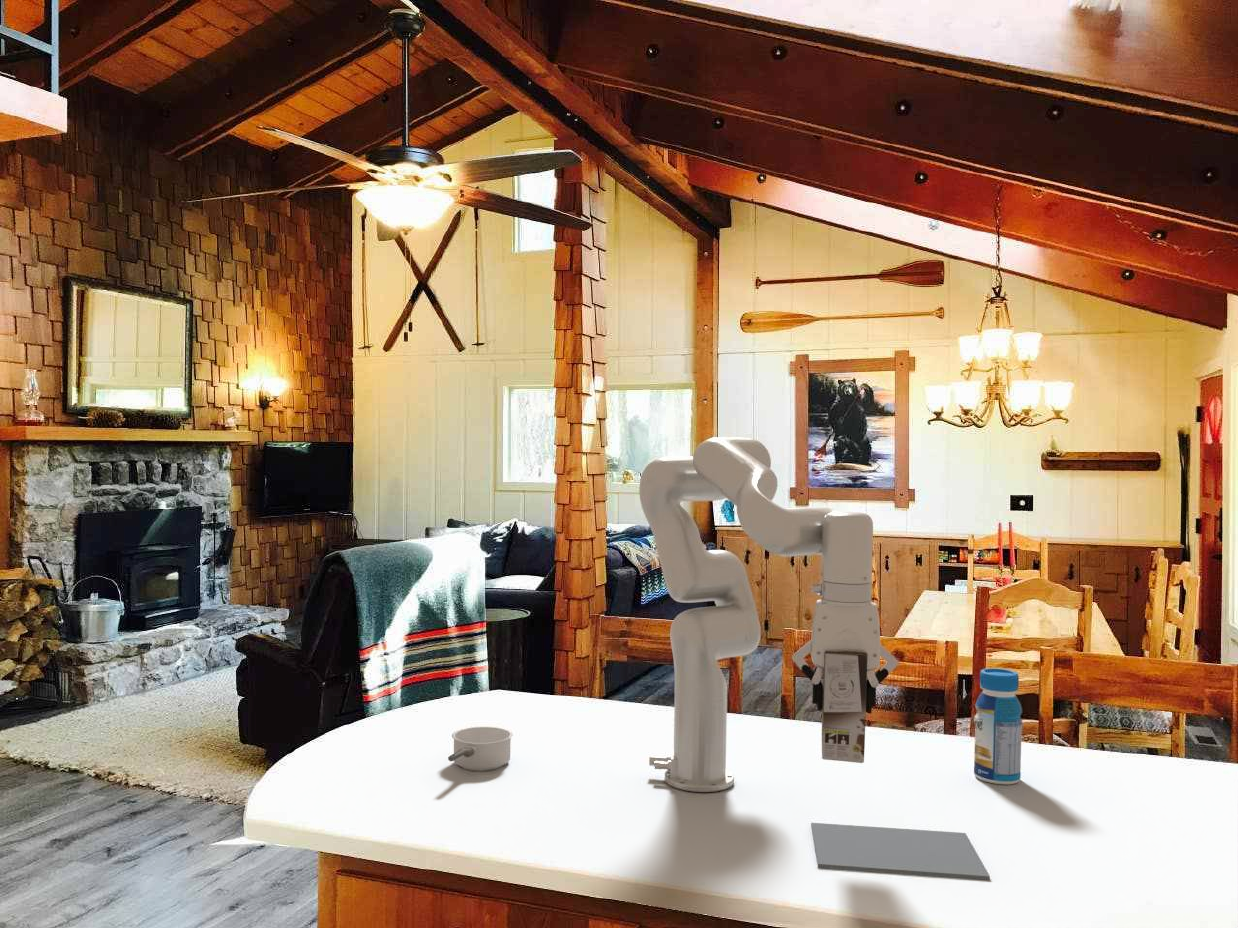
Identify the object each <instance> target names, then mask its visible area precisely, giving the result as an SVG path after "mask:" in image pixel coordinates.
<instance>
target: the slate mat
mask: <svg viewBox="0 0 1238 928" xmlns="http://www.w3.org/2000/svg"><path fill="white" fill-rule="evenodd" d="M810 826H811V828H810V829H811V833H812V834H811V835H812V840H813V846H814V850H815V851H814V852H815V856H816V864H817V868H820V869H821V868H823V869H834V870H848V871H849V870H851V871H861V872H862V871H864V872H877V873H878V872H879V873H892V874H902V875H903V874H906V875H915V876H916V875H918V876H933V877H944V878H945V877H946V878H958V879H970V880H971V879H973V880H988V881H990V880H991V875H990V873H989V872H988V870H987V869H986V867H985V865H984V863H983V861H982V860H981V858H980V856H979V855H978V853H977V851H976V849H975V847H974V846H973V844H972V842H971V839H969V837H968V835H967V833H966V832H959V831H958V832H955V831H945V830H944V831H941V830H929V829H927V830H924V829H909V828H897V827H882V826H881V827H880V826H869V825H867V826H866V825H852V824H838V823H837V824H835V823H822V822H821V823H820V822H819V823H818V822H811V823H810Z"/></svg>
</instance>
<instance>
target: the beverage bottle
mask: <svg viewBox="0 0 1238 928" xmlns="http://www.w3.org/2000/svg"><path fill="white" fill-rule="evenodd" d="M1019 679H1020V677H1019V673H1017V672H1016V671H1013V670H1010V669H1007V668H1006V669H1004V668H998V667H997V668H996V667H995V668H994V667H993V668H989V667H988V668H982V669H981V670H980V672H979V686H980V689H982V691H981V692H980V694H979V696H978V697H977V699H976V702H975V704H974V706H975V710H976V714H975V715H974V718H973V722H974V761H973V762H974V763H973V764H974V765H973V773H974V776H975V777H976V778H977V779H979V780H980V781H983V782H986V783H990V784H993V785H1015V784H1018V783H1019V782H1020V781H1021V778H1022V777H1021V776H1022V775H1021V774H1022V773H1021V760H1022V733H1023V732H1022V731H1023V727H1024V726H1023V721H1022V718H1021V715H1022V714H1023V708H1022V704H1021V702H1020V700H1019V699H1018V696H1017V695H1016V693H1017V692H1018V690H1019V683H1020V680H1019Z"/></svg>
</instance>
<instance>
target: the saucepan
mask: <svg viewBox="0 0 1238 928" xmlns="http://www.w3.org/2000/svg"><path fill="white" fill-rule="evenodd" d="M512 737H513V732H512V731H511V730H509V729H506V728H503V727H498V726H488V725H487V726H483V725H482V726H480V725H479V726H470V727H465V728H461V729H458V730H456V731H454V732H453V733H452V735H451V738H452V739H453V753H452V754H451V755H449V756H448V757H447V760H448V761H449V762H453V763H455V764H456V765H458V766H460V767H461V768H463V769H466V770H470V771H490V770H495V769H499V768H500V767H503V765H505V764H507V763H509V762H510V760H511V739H512Z"/></svg>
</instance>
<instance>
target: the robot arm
mask: <svg viewBox="0 0 1238 928" xmlns="http://www.w3.org/2000/svg"><path fill="white" fill-rule="evenodd" d="M771 459H772V458H771V456H770V452H769V450H768V449H767V447H766V446H765V445H764V444H763V443H762V442H761V441H760V440H757V439H754V438H751V437H730V436H729V437H727V436H721V437H720V436H718V437H710V438H709V439H705V440H704V441H702V442H700V443H699V444H698V446H696V448H695V450H694V451H693V455H692V456H665V457H660V458H657V459H654V460H652V461H651V462H649V463H648V464H647V465H646V466H645V467H644V469H643V471H642V473H641V476H640V481H639V489H638V491H639V500H640V505H641V509H642V511H643V514H644V516H645V519H646V521H647V523H648V525H649V528H650V530H651V532H652V535H653V539H654V542H655V547H656V552H657V555H658V560H659V563H660V568H661V572H662V575H663V578H664V583H665V584H664V585H665V587H666V589H667V592H668V594H669V596H670V598H671V599H673V600H674V601H675V602H677V603H687V604H688V603H689V604H690V603H704V602H714V604H715V605H713V606H712V605H711V606H704V607H694V608H690V609H687V610H683V611H682V612H680V613H679V614H677V615H676V617H674V619H673V620H672V623H671V625H670V630H669V639H670V640H669V641H670V646H671V651H672V657H673V666H674V667H673V668H674V708H673V709H674V712H673V713H674V717H673V721H674V723H673V750H672V753H671V754H668V753H667V754H666V756H664V755H663V756H662V755H659V754H658V755H657V754H650V755H649V764H648V765H649V766H650V767H654V770H665V772H664V781H665V782H666V784H668V785H669V786H671V787H673V788H675V789H679V790H681V791H687V792H693V793H694V792H695V793H696V792H697V793H712V792H713V793H714V792H720V791H725V790H726V789H729V788H731V787H732V786H733V785H734V783H735V782H734V781H735V775H734V774H733V773H732V772H731V771H730V770H728V769H727V768H726V767H727V765H726V762H727V724H728V723H727V718H728V717H727V713H728V712H727V711H728V709H727V708H728V686H727V685H728V684H727V681H726V677H725V675H724V673H723V671H722V669H721V668H720V666H719V663H718V660H722V659H728V658H736V657H742V656H747V655H749V654H751V653H753V652H754V651H755V650H756V649H757V648H758V646H759V644H760V641H761V634H762V630H761V623H760V619H759V614H758V611H757V608H756V606H757V605H756V603H755V599H754V595H753V592H752V589H751V585H750V582H749V581H750V580H749V578H748V575H747V571H746V569H745V566H744V564H743V563H742V561H741V560H740V558H738V556H737V555H736V554H734V553H732V552H731V551H729V550H723V549H710V550H707V549H706V548H705V547H704V544H703V541H702V539H701V534H700V531H699V527H698V525H697V524H696V522H695V520H694V519H693V517H692V516H691V514H690V513H689V512H688V511H687V510H686V509H685V508H683V506H682V505H681V502H717V501H720V500H724V499H727V500H729V501H730V502H731V503H732V504H733V505H734V506H736V515H737V518H738V521H739V525H740V526H741V528H742V531H743V532H744V533H745V534H746V535H747V536H748V537H749V538H750V539H751V540H753V541H754V542H755V543H756V544H757V545H759V546H760V547H761V548H763V549H764V550H766V551H767V552H769V553H770V554H772V555H776V556H778V557H784V558H785V557H798V556H801V557H802V556H821V578H820V579H821V580H820V581H819V583H816V584H811V594H816V595H819V596H820V599H817V600H816V603H815V605H814V606H815V607H814V611H813V617H812V618H813V619H812V625H811V636H810V637H811V639H810V640H808V641H807V642H806V643H805V644H804V645H802V646H801V647H800V648H799V649H798V650H797V651H795V652H794V653H793V654H791V659H792V662H794V664H795V665H796V666H797V668H799V669H800V671H802V673H803V674H804V676H806V678H807V679H808V680H810V681H811V683H812V691H811V694H812V699H811V703H812V704H813V705H814V704H815V705H816V709H817V711H819V712H822V707H823V681H822V679H823V670H824V655H825V652H843V651H849V652H862V653H867V655H868V658H867V691H866V713H867V714H872V709H873V708H876V707H877V706H876V705H877V704H876V702H877V687H879V685H880V683H881V682H883V681H884V680H885V679H886V678H887V677H888V676H889V674H890V673H892V672H893V671H894V670H895V669H896V668H897V667H898V665H899V664H900V663H899V661H898V659H897V658H896V657H895V656H894V655H893V654H892V653H890V652H889V651H888V650H887V649H886V648H885V647H884V646H883V645H882V644H881V630H880V629H881V628H880V616H879V610H878V606H877V605H878V604H877V603H875V602H873V601H872V595H873V594H872V592H873V589H872V588H873V551H874V550H873V547H874V543H873V542H874V541H873V540H874V522H873V518H872V517H871V516H870V515H869V514H867V513H863V512H858V511H857V512H856V511H840V510H836V509H833V508H829V507H791V508H790V507H788V508H783V507H781V506H779V505H778V504H776V503H774V501H773V499H774V498H775V495H776V493H777V490H778V477H777V475H776V473H775V471H773V469H771V465H772V461H771ZM809 654H810V656H811V661H812V663H813V665H814V668H812V667H811V666H810V665H809V664H808V663H807V662H806V660H805V657H806V656H808V655H809ZM881 658H882V659H883V660H885V663H884V664H883V665H882V667H880V665H881ZM879 667H880V668H879ZM877 669H878V670H877ZM874 670H877V671H874Z"/></svg>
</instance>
